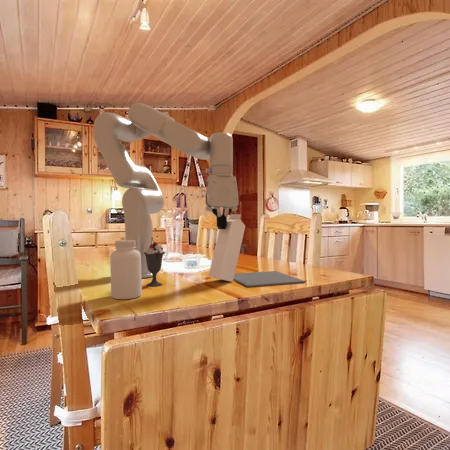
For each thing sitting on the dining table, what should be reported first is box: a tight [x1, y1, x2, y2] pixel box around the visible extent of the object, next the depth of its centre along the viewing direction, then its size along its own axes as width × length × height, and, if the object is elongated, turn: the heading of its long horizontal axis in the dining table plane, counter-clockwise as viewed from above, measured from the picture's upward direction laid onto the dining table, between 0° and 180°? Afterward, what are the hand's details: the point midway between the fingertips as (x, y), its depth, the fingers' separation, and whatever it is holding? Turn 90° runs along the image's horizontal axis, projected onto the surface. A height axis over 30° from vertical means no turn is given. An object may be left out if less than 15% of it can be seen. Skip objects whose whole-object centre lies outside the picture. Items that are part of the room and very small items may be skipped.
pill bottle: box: [109, 239, 143, 300], centre depth 90 cm, size 8×8×15 cm
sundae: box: [144, 237, 166, 288], centre depth 104 cm, size 7×7×15 cm
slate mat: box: [233, 270, 306, 288], centre depth 113 cm, size 20×20×1 cm
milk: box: [208, 213, 246, 283], centre depth 111 cm, size 6×6×22 cm
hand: (221, 228), depth 109 cm, fingers closed
